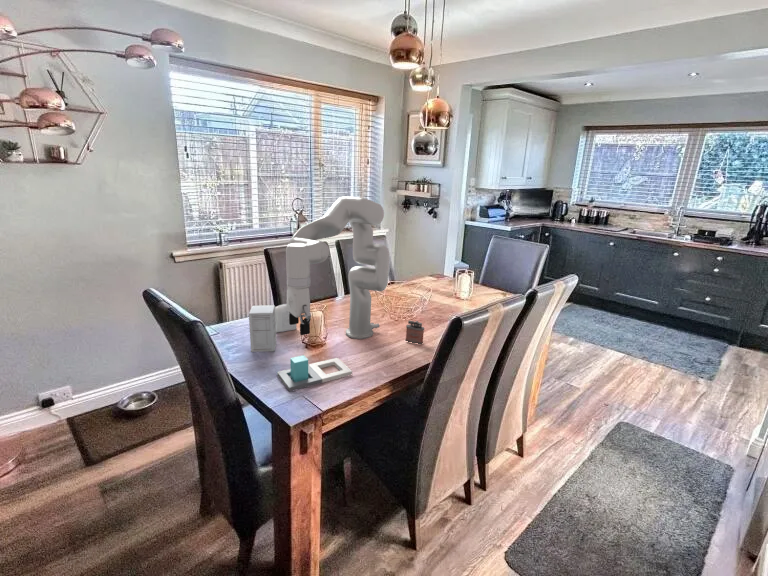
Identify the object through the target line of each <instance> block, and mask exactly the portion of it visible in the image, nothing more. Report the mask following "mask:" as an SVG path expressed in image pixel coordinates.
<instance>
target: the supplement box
mask: <svg viewBox="0 0 768 576" xmlns="http://www.w3.org/2000/svg"><path fill="white" fill-rule="evenodd" d="M275 307H276V306H275V304H274V305H273V304H272V305H271V304H270V305H268V304H267V305H264V304H262V305H252V306H251V308H250V309H249V313H248V321H249V322H248V323H249V341H250V353H262V352H264V353H265V352H275V351H276V347H277V332H276V321H275Z"/></svg>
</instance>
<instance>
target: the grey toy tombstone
mask: <svg viewBox="0 0 768 576" xmlns="http://www.w3.org/2000/svg"><path fill="white" fill-rule="evenodd" d="M289 314H291V313H289V311H288V310H287V303H283V304H279V305H277V306H275V321H276V333H282V332H289V331H295V330H297V324H293V325H290V324H289Z"/></svg>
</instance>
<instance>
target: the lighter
mask: <svg viewBox="0 0 768 576" xmlns="http://www.w3.org/2000/svg"><path fill="white" fill-rule="evenodd" d="M407 323H408V324H406V326H405V327H406V332H405V340H404V341H408V342H412V343H418V344H422V343H423V344H424V332H425V327H424V326H423V323H422V322H419V321H418V320H415V321H414V320H411V319H410V320H408V322H407Z"/></svg>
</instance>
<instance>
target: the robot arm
mask: <svg viewBox="0 0 768 576" xmlns="http://www.w3.org/2000/svg"><path fill="white" fill-rule="evenodd" d="M384 215H385V212H384V208H383V206H382V205H381V204H380V203H378V202H376V201H372V200H371V199H368V198H365V197H359V196H358V197H357V196H341V197H338V198H337V199H336V200H335V201H334V203H333V204H332V205H331V206H330V207H329V209H328V210H327V211H326V212H325V213H324V215H323V216H322V217H320V218H317V219H315V220H313V221H311V222H309V223H307V224H305V225H303V226H301V227H300V228H298V230H297V231H296V232H295V233H294V234H293V235H292V236H291V238H290V239H289V241H288V244H287V245H286V248H285V258H286V259H285V264H286V265H285V266H286V267H285V268H286V269H285V270H286V304H287V310H288V311H289V313H291V314H289V324H290V325H293V324H296V325H297V324H299V335H301V336H305V335H306V336H307V335H309V334H310V333H311V330H310V329H311V327H310V325H311V317H312V314H311V313H312V312H311V301H310V299H311V297H310V289H309V288H310V287H311V265H313V264H321V263H323V262H325V261H326V260H327V259H328V258H329V254H330V248H329V245H328V244H327V243H326V242H324V241H321V240H322V239H323V240H324V239H329V238H332V237H336V236H339V235H340V234H341V233H342V231H343V230H344V229H345V228H346V226H347V225H348V223H349V225H350V226H351V229H352V259H353V261H354V262H355V263H357V264H360V265H356V266H353V267H352V268H350V270H349V271H348V274H347V275H348V279H347V280H348V286H349V319H348V320H349V325H348V326H349V327H348V328H346V330H345V335H346V336H347V337H348V338H350V339H356V340H364V339H369V338H372V336H373V335H374V329H378V328H380V324H379V323H374V322H371V316H372V314H371V313H372V295H371V292H370V291H374V292H383V291H385V290H386V288H387V287H388V281H389V270H390V269H389V267H390V250H389V248H388V246H386V245H385V244H382V243H375V242H374V230H373V227H372V226H377V225H380V224H381V223H382V222H383V220H384ZM362 265H367V266H362ZM369 266H373V267H374V268H373V267H369Z"/></svg>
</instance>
